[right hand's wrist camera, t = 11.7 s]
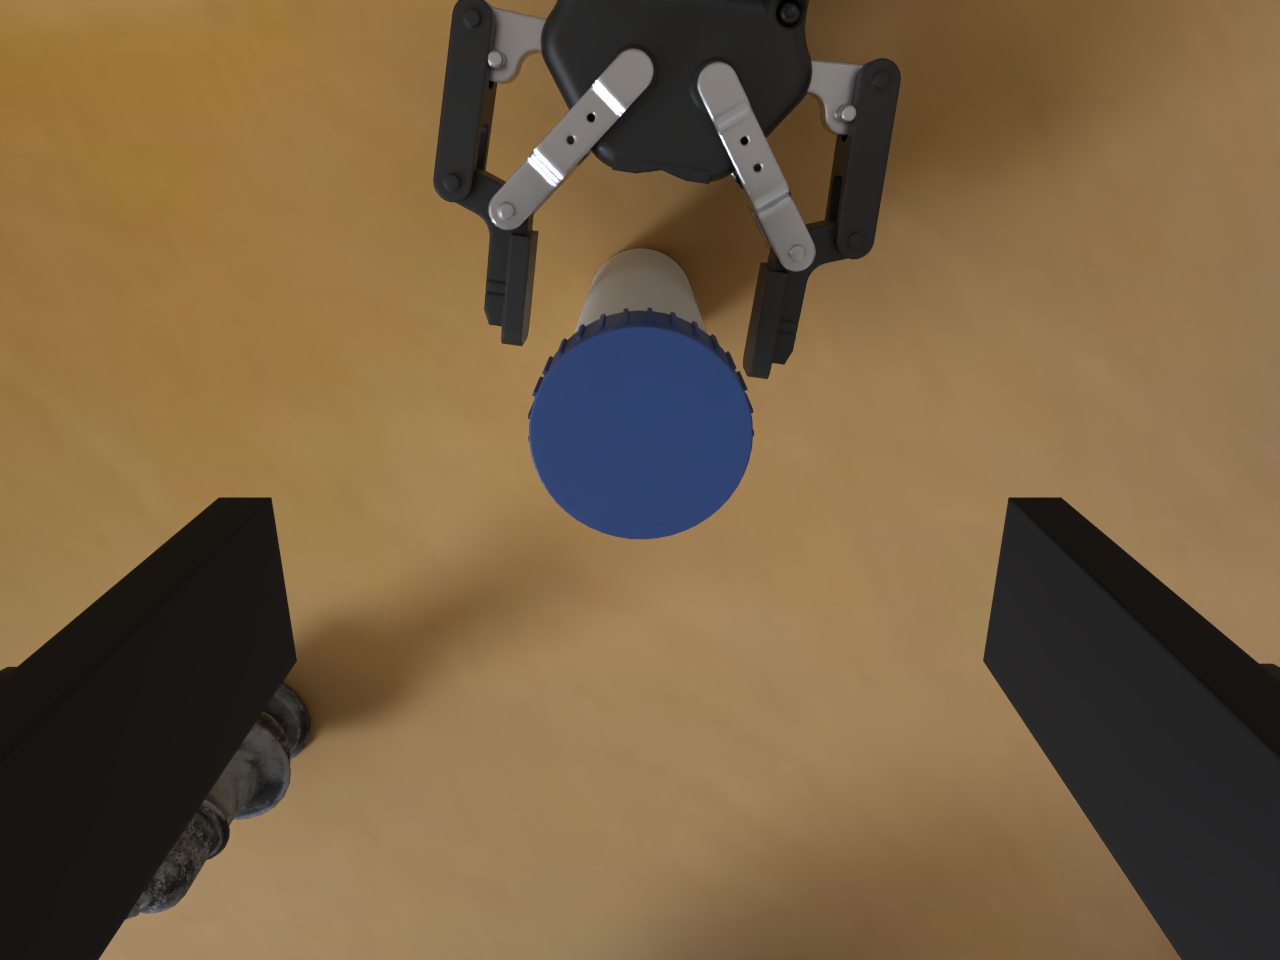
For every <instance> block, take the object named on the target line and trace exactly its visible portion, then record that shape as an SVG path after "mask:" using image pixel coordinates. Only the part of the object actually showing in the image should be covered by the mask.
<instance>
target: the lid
mask: <svg viewBox="0 0 1280 960" xmlns="http://www.w3.org/2000/svg"><path fill="white" fill-rule="evenodd" d="M735 369H736V366H735V364H734V361H733V359H732V357H731V354H730V353H729V351H728V352H726V353H725V352H724V350H723V349H722V348H721V347H720V346H719V344H718V341H717V339H716V337H715V336H714V335H713V334H712V335H711V336H709V335H708V334H707V333H706V332H704V331H703V330H701V329H700V328H699V327H698V324H697V322H695V321H693V322H692V323H690V322H688V321H686V320H684V319H681V318H679V317H676V313H674V312H671V314H666V313H661V312H655V311H652V308H647V311H640V310H637V311H629V310H628V308H625V309H624V310H623V312H621V313H616V314H612V315H609V316H606V315H605V314H602V315H601V316H600V319H598V320H596V321H594V322H592V323H590V324H588V325H586V326H585V325H584V324H582V325H580V327H579V330H578V332H576V333H575V334H574V335H573V336H572V337H570V338H569V339H568V340H566V339H565V338H564V339H563V340H562V342H561V345H560V347H559V350H558V352H557V353H556V354H555V356H554V357H551V356H550V357H549V359H548V361H547V363H546V366H545V368H544V370H543V373H542V374H544V377H540V378H539V380H538V383H537V385H536V387H535V390H534V392H533V396H535V399H534V402H533V405H532V407H531V409H530V412H529V414H528V419H530V423H529V438H528V439H529V442H530V449H531V455H532V458H533V462H534V465H535V468H536V470H537V473H538V475H539V477H540V480H541V481H542V483H543V485H544V486H545V488H546V490H547V491H548V493H549V494H550V495H551V496H552V498H553V499H554V500H555V501H556V503H557V504H559V505H560V506H561V507H562V508H563V509H564V510H565V511H566V512H567V513H568V514H570V515H571V516H572V517H574V518H575V519H576V520H578V521H579V522H581V523H583V524H585V525H586V526H588V527H590V528H592V529H595V530H597V531H600V532H602V533H605V534H609V535H612V536H616V537H622V538H628V539H652V538H660V537H665V536H670V535H673V534H676V533H679V532H682V531H685V530H687V529H689V528H691V527H693V526H696V525H698V524H699V523H701V522H702V521H704V520H705V519H707V518H709V517H710V516H711V515H712V514H713V513H715V512H716V511H717V510H718V509H719V508H720V507H721V506H722V505H723V504H724V503H725V502H726V501H727V500H728V499H729V498H730V496H731V495H732V494H733V492H734V491H735V489H736V488H737V486H738V485H739V483H740V481H741V479H742V477H743V475H744V473H745V470H746V467H747V465H748V462H749V458H750V454H751V449H752V439H753V436H754V431H753V425H752V416H751V413H753V408H752V406H751V403H750V401H749V399H748V396H747V394H746V393H745V392H744V391H746V390H747V387H746V385H745V382H744V380H743V378H742V375H741V373H740V371H738V372H736V371H735Z"/></svg>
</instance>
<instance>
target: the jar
mask: <svg viewBox="0 0 1280 960" xmlns="http://www.w3.org/2000/svg"><path fill="white" fill-rule="evenodd" d="M625 308H628V310H629V311H637V310H640V311H647V308H652V311H655V312H661V313H666V314H671V312H674V313H676V317H679V318H681V319H684V320H686V321H688V322H690V323H692V322H693V321H695V322H697V324H698V327H699V328H700V329H701V330H703V331H704V332H706V333H707V331H706V329H705V326H704V323H703V320H702V317H701V314H700V312H699V309H698V306H697V303H696V300H695V298H694V295H693V292H692V289H691V286H690V284H689V281H688V279H687V277H686V275H685V273H684V271H683V270H682V269H681V267H680V266H679V265H678V264H677V263H676V262H675V261H674V260H673V259H671V258H670V257H668V256H667V255H665V254H663V253H661V252H658V251H655V250H651V249H644V248H637V249H630V250H626V251H623V252H620V253H618V254H616V255H614V256H613V257H611V258H610V259H609V260H607V261H606V262H605V263H604V264H603V265H602V266H601V267H600V269H599V270H598V271H597V273H596V275H595V276H594V279H593V281H592V283H591V286H590V289H589V292H588V295H587V298H586V301H585V303H584V306H583V309H582V312H581V315H580V318H579V321H578V324H577V326H576V329H575V332H574V334H575V333H576V332H578V330H579V327H580V325H582V324H584V325H585V326H586V325H588V324H590V323H592V322H594V321H596V320H598V319H600V316H601V315H602V314H605V315H606V316H609V315H612V314H616V313H621V312H623V310H624V309H625Z"/></svg>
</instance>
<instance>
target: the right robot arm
mask: <svg viewBox="0 0 1280 960" xmlns="http://www.w3.org/2000/svg"><path fill="white" fill-rule="evenodd" d="M296 661H297V659H296V653H295V646H294V640H293V633H292V627H291V621H290V614H289V608H288V601H287V595H286V588H285V582H284V576H283V569H282V563H281V556H280V550H279V544H278V537H277V531H276V524H275V518H274V511H273V505H272V499H271V498H218V499H217V500H216V501H214V502H213V503H212V504H211V505H210V506H208V507H207V508H206V509H205V510H204V511H202V512H201V513H200V514H199V515H198V516H196V517H195V518H194V519H193V520H192V521H191V522H189V523H188V524H187V525H186V526H185V527H183V528H182V529H181V530H180V531H179V532H177V533H176V534H175V535H174V536H173V537H171V538H170V539H169V540H168V541H167V542H166V543H164V544H163V545H162V546H161V547H160V548H158V549H157V550H156V551H155V552H154V553H152V554H151V555H150V556H149V557H148V558H146V559H145V560H144V561H143V562H142V563H141V564H139V565H138V566H137V567H136V568H135V569H133V570H132V571H131V572H130V573H129V574H127V575H126V576H125V577H124V578H123V579H121V580H120V581H119V582H118V583H117V584H116V585H114V586H113V587H112V588H111V589H110V590H108V591H107V592H106V593H105V594H104V595H102V596H101V597H100V598H99V599H98V600H96V601H95V602H94V603H93V604H92V605H91V606H89V607H88V608H87V609H86V610H85V611H83V612H82V613H81V614H80V615H79V616H77V617H76V618H75V619H74V620H73V621H71V622H70V623H69V624H68V625H67V626H66V627H64V628H63V629H62V630H61V631H60V632H58V633H57V634H56V635H55V636H54V637H52V638H51V639H50V640H49V641H48V642H46V643H45V644H44V645H43V646H42V647H41V648H39V649H38V650H37V651H36V652H35V653H33V654H32V655H31V656H30V657H29V658H27V659H26V660H25V661H24V662H23V663H21V664H20V665H19V666H18V667H7V668H5V669H3V670H1V671H0V960H98V959H99V958H100V956H101V955H102V953H103V952H104V950H105V949H106V947H107V946H108V944H109V943H110V941H111V940H112V938H113V937H114V935H115V934H116V932H117V931H118V929H119V928H120V926H121V925H122V923H123V922H124V920H125V919H126V917H127V916H128V914H129V913H130V911H131V910H132V908H133V907H134V905H135V904H136V902H137V901H138V899H139V898H140V896H141V895H142V893H143V892H144V890H145V889H146V887H147V886H148V884H149V883H150V881H151V880H152V878H153V877H154V875H155V874H156V872H157V871H158V869H159V868H160V866H161V864H162V863H163V861H164V860H165V858H166V857H167V855H168V854H169V852H170V851H171V849H172V848H173V846H174V845H175V843H176V842H177V840H178V839H179V837H180V836H181V834H182V833H183V831H184V830H185V828H186V827H187V825H188V824H189V822H190V821H191V819H192V818H193V816H194V815H195V813H196V812H197V810H198V809H199V807H200V806H201V804H202V803H203V801H204V800H205V798H206V797H207V795H208V794H209V792H210V791H211V789H212V788H213V786H214V785H215V783H216V782H217V780H218V779H219V777H220V776H221V774H222V773H223V771H224V770H225V768H226V767H227V765H228V764H229V762H230V761H231V759H232V758H233V756H234V755H235V753H236V752H237V750H238V749H239V747H240V746H241V744H242V743H243V741H244V740H245V738H246V736H247V735H248V733H249V732H250V730H251V729H252V727H253V726H254V724H255V723H256V721H257V720H258V718H259V717H260V715H261V714H262V712H263V711H264V709H265V708H266V706H267V705H268V703H269V702H270V700H271V699H272V697H273V696H274V694H275V693H276V691H277V690H278V688H279V687H280V685H281V684H282V682H283V681H284V679H285V678H286V676H287V675H288V673H289V672H290V670H291V669H292V667H293V666H294V664H295V663H296ZM983 661H984V663H985V664H986V666H987V667H988V669H989V670H990V672H991V673H992V675H993V676H994V678H995V679H996V681H997V682H998V684H999V685H1000V687H1001V688H1002V690H1003V691H1004V693H1005V694H1006V696H1007V697H1008V699H1009V700H1010V702H1011V703H1012V705H1013V706H1014V708H1015V709H1016V711H1017V712H1018V714H1019V715H1020V717H1021V718H1022V720H1023V721H1024V723H1025V724H1026V726H1027V727H1028V729H1029V730H1030V732H1031V733H1032V735H1033V736H1034V738H1035V739H1036V741H1037V743H1038V744H1039V746H1040V747H1041V749H1042V750H1043V752H1044V753H1045V755H1046V756H1047V758H1048V759H1049V761H1050V762H1051V764H1052V765H1053V767H1054V768H1055V770H1056V771H1057V773H1058V774H1059V776H1060V777H1061V779H1062V780H1063V782H1064V783H1065V785H1066V786H1067V788H1068V789H1069V791H1070V792H1071V794H1072V795H1073V797H1074V798H1075V800H1076V801H1077V803H1078V804H1079V806H1080V807H1081V809H1082V810H1083V812H1084V813H1085V815H1086V816H1087V818H1088V819H1089V821H1090V822H1091V824H1092V825H1093V827H1094V828H1095V830H1096V831H1097V833H1098V834H1099V836H1100V837H1101V839H1102V840H1103V842H1104V843H1105V845H1106V846H1107V848H1108V849H1109V851H1110V852H1111V854H1112V855H1113V857H1114V858H1115V860H1116V861H1117V863H1118V864H1119V866H1120V867H1121V869H1122V871H1123V872H1124V874H1125V875H1126V877H1127V878H1128V880H1129V881H1130V883H1131V884H1132V886H1133V887H1134V889H1135V890H1136V892H1137V893H1138V895H1139V896H1140V898H1141V899H1142V901H1143V902H1144V904H1145V905H1146V907H1147V908H1148V910H1149V911H1150V913H1151V914H1152V916H1153V917H1154V919H1155V920H1156V922H1157V923H1158V925H1159V926H1160V928H1161V929H1162V931H1163V932H1164V934H1165V935H1166V937H1167V938H1168V940H1169V941H1170V943H1171V944H1172V946H1173V947H1174V949H1175V950H1176V952H1177V953H1178V955H1179V956H1180V958H1181V959H1182V960H1280V667H1278V666H1276V665H1274V664H1259V663H1257V662H1256V661H1255V660H1254V659H1253V658H1251V657H1250V656H1249V655H1248V654H1247V653H1245V652H1244V651H1243V650H1242V649H1241V648H1239V647H1238V646H1237V645H1236V644H1235V643H1234V642H1232V641H1231V640H1230V639H1229V638H1228V637H1226V636H1225V635H1224V634H1223V633H1222V632H1220V631H1219V630H1218V629H1217V628H1216V627H1214V626H1213V625H1212V624H1211V623H1210V622H1209V621H1207V620H1206V619H1205V618H1204V617H1203V616H1201V615H1200V614H1199V613H1198V612H1197V611H1195V610H1194V609H1193V608H1192V607H1191V606H1189V605H1188V604H1187V603H1186V602H1185V601H1184V600H1182V599H1181V598H1180V597H1179V596H1178V595H1176V594H1175V593H1174V592H1173V591H1172V590H1170V589H1169V588H1168V587H1167V586H1166V585H1164V584H1163V583H1162V582H1161V581H1160V580H1159V579H1157V578H1156V577H1155V576H1154V575H1153V574H1151V573H1150V572H1149V571H1148V570H1147V569H1145V568H1144V567H1143V566H1142V565H1141V564H1139V563H1138V562H1137V561H1136V560H1135V559H1134V558H1132V557H1131V556H1130V555H1129V554H1128V553H1126V552H1125V551H1124V550H1123V549H1122V548H1120V547H1119V546H1118V545H1117V544H1116V543H1114V542H1113V541H1112V540H1111V539H1110V538H1109V537H1107V536H1106V535H1105V534H1104V533H1103V532H1101V531H1100V530H1099V529H1098V528H1097V527H1095V526H1094V525H1093V524H1092V523H1091V522H1089V521H1088V520H1087V519H1086V518H1085V517H1084V516H1082V515H1081V514H1080V513H1079V512H1078V511H1076V510H1075V509H1074V508H1073V507H1072V506H1070V505H1069V504H1068V503H1067V502H1066V501H1064V500H1063V499H1062V498H1009V499H1008V505H1007V512H1006V518H1005V524H1004V531H1003V537H1002V544H1001V550H1000V556H999V563H998V569H997V576H996V582H995V589H994V595H993V601H992V608H991V614H990V621H989V627H988V633H987V640H986V646H985V653H984V659H983Z"/></svg>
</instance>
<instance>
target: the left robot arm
mask: <svg viewBox="0 0 1280 960" xmlns="http://www.w3.org/2000/svg"><path fill="white" fill-rule="evenodd" d="M808 2H809V0H557V3H556V5H555V7H554V8H553V10H552V11H551V13H550V14H549V16H548V17H547V19H544V18H539V17H535V16H530V15H526V14H521V13H517V12H513V11H508V10H504V9H499V8H495V7H492V6H491V5H490V4H489V3H488V2H486V1H485V0H459V1H458V2H457V3H456V5H455V7H454V9H453V14H452V23H451V31H450V40H449V49H448V57H447V66H446V75H445V83H444V92H443V101H442V109H441V118H440V127H439V135H438V144H437V153H436V162H435V170H434V180H433V182H434V187H435V190H436V192H437V193H438V195H439V196H440V197H441V198H443V199H444V200H446V201H449V202H456V203H457V204H459V205H461V206H463V207H465V208H467V209H469V210H471V211H472V212H474V213H476V214H478V215H479V216H480V217H481V218H482V219H483V220H484V221H485V222H486V224H487V226H488V229H489V233H490V243H489V256H488V269H487V282H486V294H485V307H484V310H485V313H486V316H487V319H488V323H489V325H497V326H502V336H501V341H502V343H503V344H510V345H517V346H523V344H524V342H525V341H526V339H527V336H528V331H529V323H530V313H531V303H532V292H533V282H534V272H535V261H536V251H537V240H538V231H533V230H532V225H533V215H534V213H535V212H536V211H537V210H538V209H539V208H540V207H541V206H542V205H543V204H544V203H545V202H546V200H547V199H548V198H549V197H550V196H551V195H552V194H553V193H554V192H555V191H556V190H557V189H558V188H559V186H560V185H561V184H562V183H563V182H564V181H565V180H566V179H567V178H568V177H569V176H570V175H571V174H572V173H573V172H574V171H575V170H576V169H577V168H578V167H579V166H580V165H581V163H582V162H583V161H584V160H585V159H586V158H587V157H588V156H589V155H590V154H591V153H592V152H593V154H594V155H595V156H596V157H597V158H598V159H599V160H600V161H601V162H603V163H604V164H606V165H607V166H610V167H612V168H613V169H612V170H618V171H624V172H631V173H642V172H650V171H657V170H663V171H665V172H667V173H670V174H672V175H674V176H676V177H679V178H681V179H683V180H685V181H692V182H699V183H706V184H709V182H713V181H717V180H720V179H722V178H725V177H727V176H728V175H731V177H732V179H733V181H734V183H735V185H736V187H737V189H738V191H739V193H740V195H741V197H742V199H743V201H744V203H745V204H746V206H747V208H748V209H749V211H750V213H751V215H752V217H753V219H754V221H755V223H756V225H757V227H758V229H759V231H760V233H761V235H762V237H763V239H764V241H765V243H766V245H767V247H768V249H769V251H770V253H769V258H768V263H762V262H761V264H760V269H759V275H758V280H757V286H756V291H755V296H754V302H753V307H752V313H751V318H750V324H749V329H748V335H747V340H746V345H745V351H744V358H743V368H744V370H745V372H746V375H747V376H749V377H756V378H763V379H768V377H769V374H770V370H771V365H772V363H777V364H785V362H786V361H787V359H788V358H789V356H790V355H791V353H792V351H793V347H794V342H795V337H796V332H797V327H798V321H799V318H800V313H801V308H802V303H803V298H804V293H805V288H806V283H807V280H808V277H809V275H810V274H811V273H812V271H813V270H814V269H815V268H817V267H818V266H820V265H822V264H824V263H828V262H833V261H838V260H842V259H847V258H849V259H859V258H862V257H863V256H865V255H866V254H868V252H869V251H870V250H871V248H872V246H873V243H874V238H875V232H876V226H877V220H878V214H879V208H880V201H881V195H882V189H883V183H884V177H885V171H886V165H887V159H888V153H889V147H890V141H891V135H892V129H893V123H894V117H895V111H896V105H897V99H898V93H899V87H900V80H901V76H900V71H899V69H898V67H897V65H896V64H895V63H894V62H892V61H891V60H889V59H883V58H882V59H877V60H874V61H871V62H868V63H865V64H863V65H861V64H849V63H838V62H826V61H815V60H811V58H810V55H809V52H808V48H807V44H806V37H805V20H806V13H807V8H808ZM535 53H542V56H543V59H544V61H545V63H546V65H547V67H548V69H549V71H550V73H551V75H552V77H553V79H554V81H555V83H556V85H557V86H558V88H559V90H560V92H561V94H562V96H563V98H564V100H565V102H566V104H567V106H568V108H569V110H570V111H569V112H568V113H567V114H566V115H565V116H564V117H563V118H562V119H561V121H560V122H559V123H558V124H557V125H556V126H555V127H554V128H553V129H552V130H551V132H550V133H549V134H548V135H547V136H546V137H545V138H544V139H543V140H542V141H541V143H540V144H539V145H538V146H537V147H536V148H535V149H534V151H533V152H532V153H531V155H530V156H529V157H528V159H527V160H526V161H525V162H524V163H523V164H522V165H521V167H520V168H519V169H518V170H517V171H516V172H515V173H514V174H513V175H512V176H511V178H510V179H509V180H508V181H507V182H505V181H503V180H501V179H500V178H498V177H496V176H494V175H492V174H490V173H489V172H487V171H485V170H486V163H487V155H488V148H489V140H490V133H491V126H492V118H493V111H494V103H495V96H496V88H497V83H500V84H507V83H510V82H512V81H514V80H515V79H516V78H517V76H518V75H519V73H520V70H521V66H522V64H523V62H524V61H525V59H526V58H527V57H529V56H530V55H532V54H535ZM806 94H808V95H811V96H812V97H813V98H815V100H816V101H817V102H818V104H819V107H820V120H821V123H822V126H823V127H824V129H825V130H826V131H828V132H829V133H832V134H836V135H837V140H836V147H835V153H834V160H833V167H832V174H831V181H830V188H829V195H828V202H827V208H826V215H825V220H824V221H819V222H815V223H810V224H806V225H805V224H804V222H803V220H802V218H801V216H800V214H799V211H798V209H797V207H796V205H795V203H794V201H793V199H792V196H791V192H790V189H789V187H788V184H787V182H786V180H785V178H784V176H783V174H782V172H781V169H780V167H779V165H778V163H777V161H776V159H775V157H774V155H773V153H772V151H771V149H770V146H769V144H768V142H767V140H766V138H767V137H768V135H769V134H770V133H771V132H772V131H773V130H774V129H775V128H776V127H777V126H778V125H779V124H780V123H781V122H782V121H783V120H784V119H785V117H786V116H787V115H788V114H789V113H790V112H791V111H792V110H793V109H794V108H795V107H796V106H797V105H798V104H799V103H800V102H801V100H802V99H803V98H804V96H805V95H806ZM574 139H575V141H574Z"/></svg>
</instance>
